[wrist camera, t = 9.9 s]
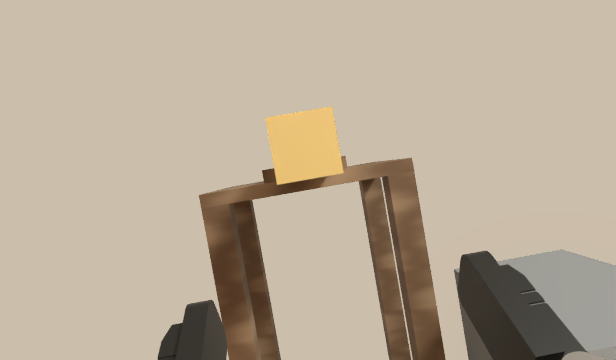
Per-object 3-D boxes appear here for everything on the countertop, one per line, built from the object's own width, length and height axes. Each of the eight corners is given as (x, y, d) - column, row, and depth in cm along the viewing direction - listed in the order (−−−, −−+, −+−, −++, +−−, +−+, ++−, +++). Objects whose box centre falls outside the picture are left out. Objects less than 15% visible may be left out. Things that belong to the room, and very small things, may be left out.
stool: (419, 431, 43) (372, 153, 42) (478, 555, 29) (409, 144, 28) (280, 458, 43) (229, 178, 42) (272, 596, 29) (196, 181, 28)
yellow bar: (318, 171, 42) (313, 140, 42) (343, 173, 20) (332, 106, 20) (287, 177, 42) (281, 145, 42) (277, 184, 20) (265, 117, 20)
